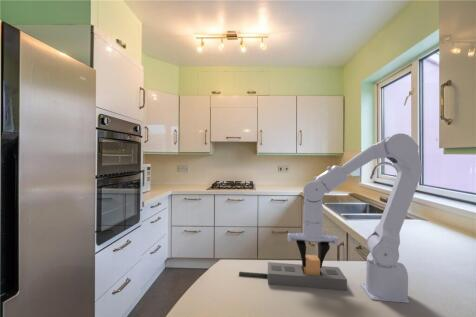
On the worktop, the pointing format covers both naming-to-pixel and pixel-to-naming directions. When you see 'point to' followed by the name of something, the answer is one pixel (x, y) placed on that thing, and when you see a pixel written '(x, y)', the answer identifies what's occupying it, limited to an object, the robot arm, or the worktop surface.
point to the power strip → (302, 276)
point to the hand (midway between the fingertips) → (311, 266)
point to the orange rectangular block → (312, 265)
